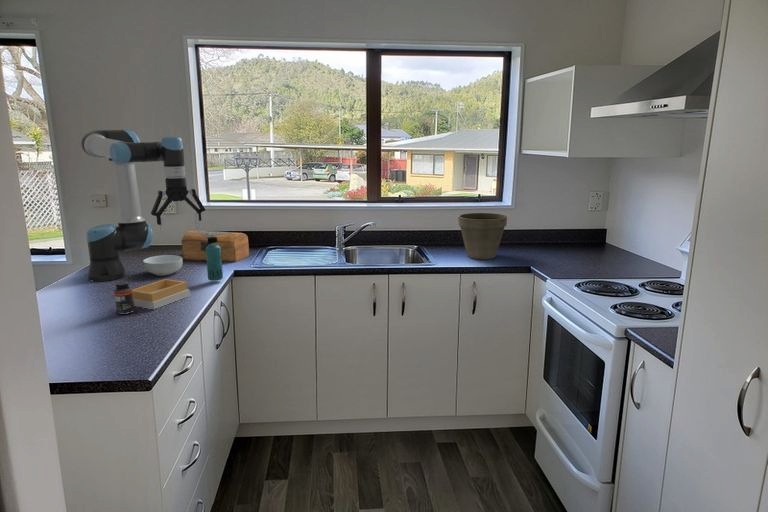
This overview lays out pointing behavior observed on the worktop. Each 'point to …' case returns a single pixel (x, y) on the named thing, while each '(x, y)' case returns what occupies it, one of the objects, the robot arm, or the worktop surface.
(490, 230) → the plant pot
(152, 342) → the worktop surface
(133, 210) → the robot arm
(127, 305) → the supplement bottle
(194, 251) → the wooden box
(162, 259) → the cereal bowl
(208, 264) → the beverage bottle
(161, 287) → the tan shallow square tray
